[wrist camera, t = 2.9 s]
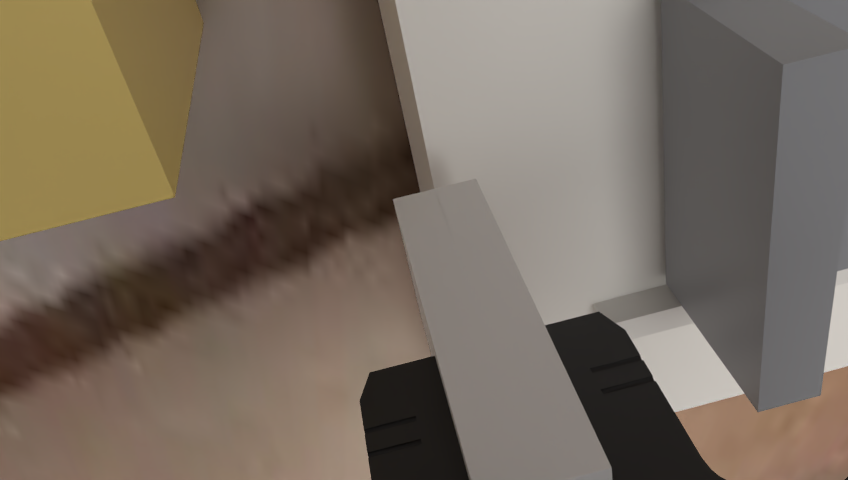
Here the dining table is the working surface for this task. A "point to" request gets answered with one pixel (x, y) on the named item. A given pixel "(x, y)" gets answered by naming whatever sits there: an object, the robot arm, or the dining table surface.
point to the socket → (565, 160)
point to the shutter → (757, 182)
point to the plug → (92, 106)
